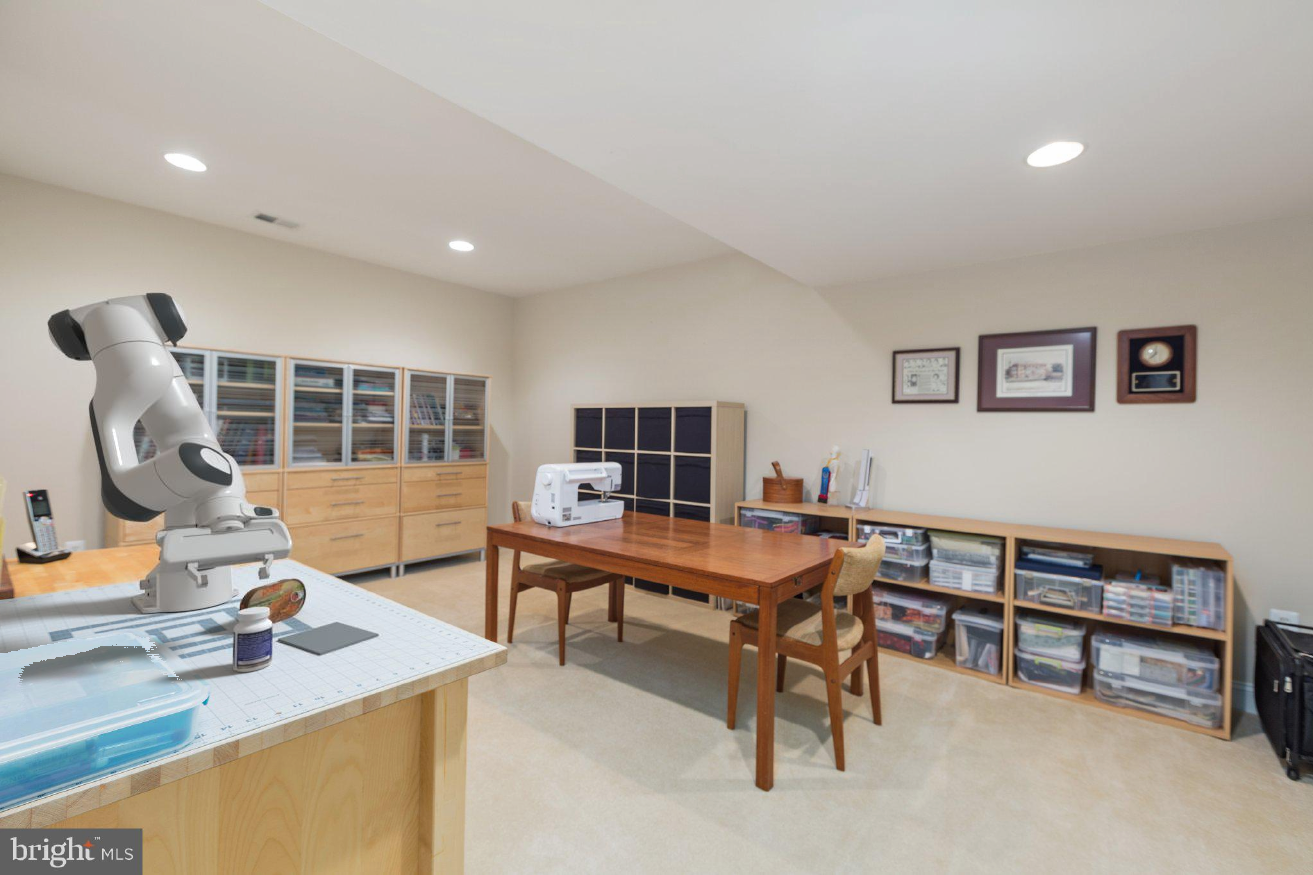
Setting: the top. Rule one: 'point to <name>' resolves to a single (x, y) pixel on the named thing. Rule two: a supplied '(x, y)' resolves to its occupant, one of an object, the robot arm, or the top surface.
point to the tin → (277, 598)
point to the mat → (328, 638)
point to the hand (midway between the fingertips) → (234, 581)
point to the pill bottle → (252, 640)
